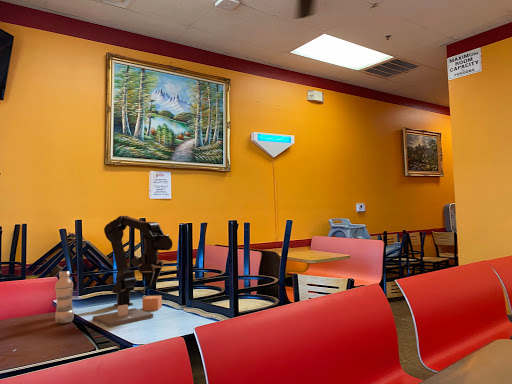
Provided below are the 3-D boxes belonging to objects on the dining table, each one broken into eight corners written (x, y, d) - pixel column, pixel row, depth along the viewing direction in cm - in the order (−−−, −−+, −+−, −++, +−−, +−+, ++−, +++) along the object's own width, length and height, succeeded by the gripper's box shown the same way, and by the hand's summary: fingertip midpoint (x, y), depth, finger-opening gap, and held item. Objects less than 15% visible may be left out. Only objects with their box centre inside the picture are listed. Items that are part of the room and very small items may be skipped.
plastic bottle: (68, 324, 149) (68, 272, 150) (51, 325, 149) (51, 273, 151) (76, 320, 156) (76, 270, 157) (60, 321, 156) (60, 270, 157)
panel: (92, 320, 155) (92, 306, 155) (134, 311, 168) (134, 299, 168) (109, 327, 144) (109, 312, 144) (153, 317, 156) (152, 304, 157)
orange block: (146, 307, 176) (146, 295, 176) (161, 306, 176) (161, 295, 176) (142, 310, 169) (142, 298, 170) (158, 310, 169) (157, 298, 170)
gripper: (140, 248, 184) (140, 282, 183) (126, 252, 165) (126, 289, 164) (163, 248, 183) (163, 281, 182) (152, 251, 165) (152, 288, 164)
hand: (151, 285), depth 173 cm, fingers open, 9 cm apart
